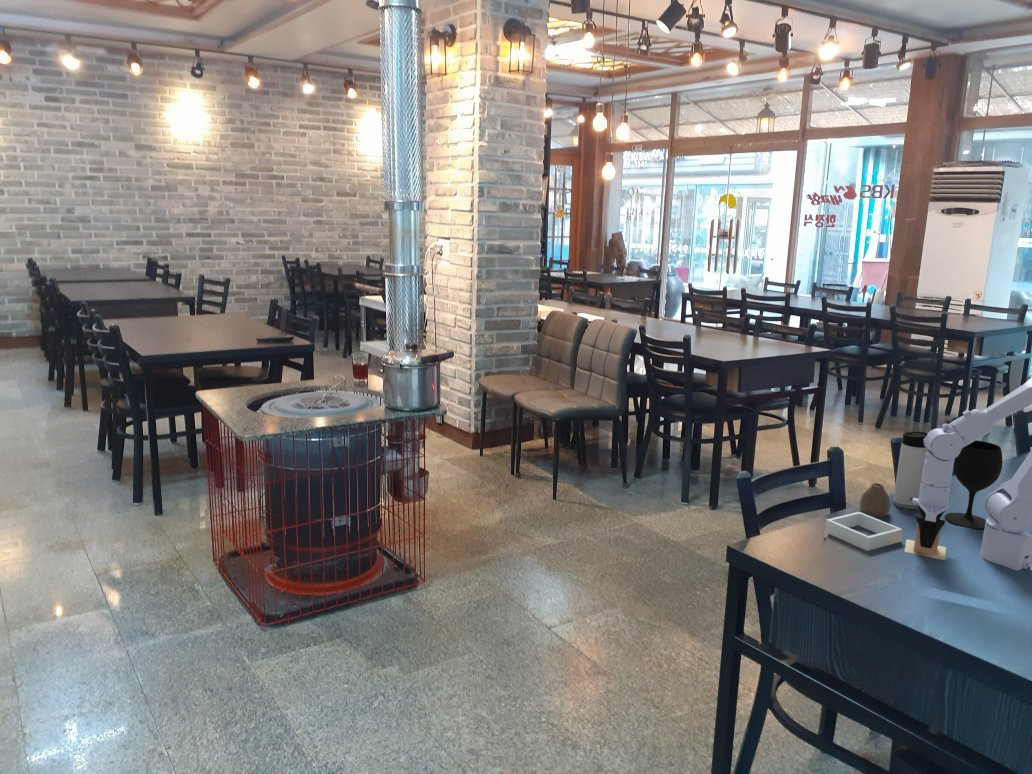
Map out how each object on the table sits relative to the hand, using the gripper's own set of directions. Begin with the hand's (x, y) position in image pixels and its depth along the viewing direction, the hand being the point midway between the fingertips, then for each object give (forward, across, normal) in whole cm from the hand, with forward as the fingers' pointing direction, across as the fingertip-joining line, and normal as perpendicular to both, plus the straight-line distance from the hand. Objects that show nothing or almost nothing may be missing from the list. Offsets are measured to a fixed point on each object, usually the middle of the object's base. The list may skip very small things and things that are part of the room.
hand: (926, 541), depth 177 cm
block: (+2, 0, 0) cm, 2 cm away
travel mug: (+4, -33, -5) cm, 34 cm away
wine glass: (+4, -29, +9) cm, 30 cm away
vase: (+4, -18, -12) cm, 22 cm away
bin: (+3, 0, -13) cm, 13 cm away
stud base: (+3, 0, 0) cm, 3 cm away
